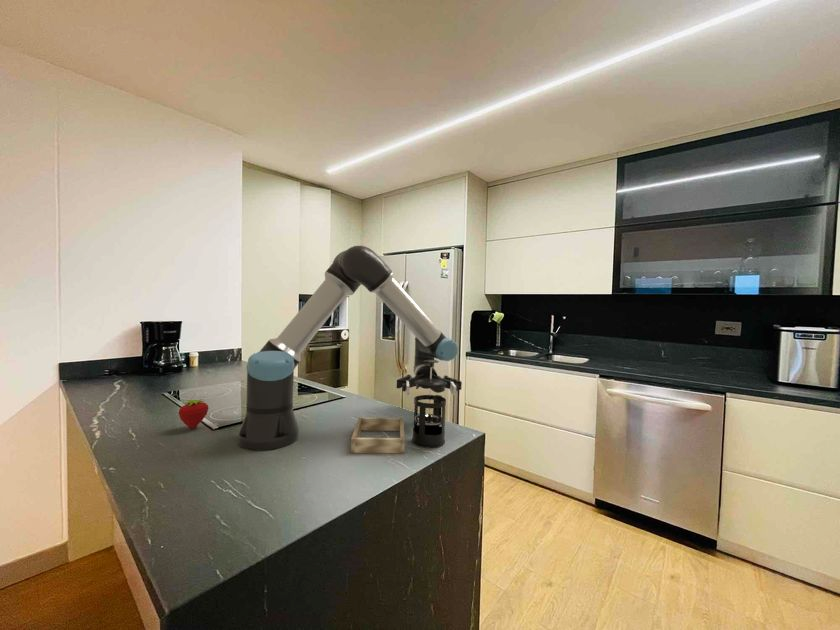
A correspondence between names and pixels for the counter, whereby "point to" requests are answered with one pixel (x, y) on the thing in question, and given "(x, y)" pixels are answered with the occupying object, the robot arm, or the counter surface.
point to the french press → (429, 424)
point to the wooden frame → (378, 443)
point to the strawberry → (193, 412)
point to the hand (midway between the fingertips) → (431, 391)
